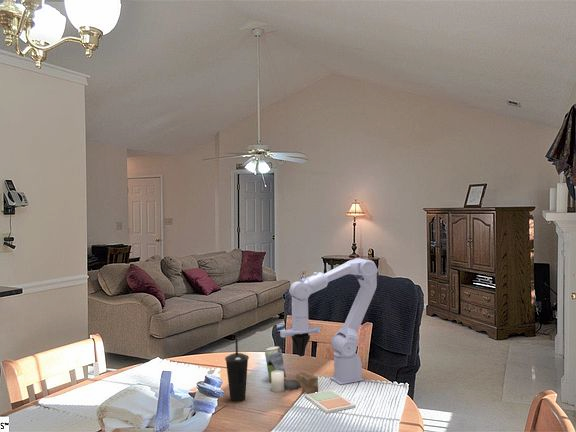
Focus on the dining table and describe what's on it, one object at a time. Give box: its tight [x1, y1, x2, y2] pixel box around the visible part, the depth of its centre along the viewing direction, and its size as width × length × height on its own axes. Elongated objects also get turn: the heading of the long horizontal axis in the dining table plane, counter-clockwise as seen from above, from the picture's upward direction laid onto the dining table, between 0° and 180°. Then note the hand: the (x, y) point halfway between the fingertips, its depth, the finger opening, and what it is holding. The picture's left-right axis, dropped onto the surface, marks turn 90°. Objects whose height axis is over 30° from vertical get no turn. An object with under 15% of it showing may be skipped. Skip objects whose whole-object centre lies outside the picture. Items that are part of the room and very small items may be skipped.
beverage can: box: [264, 346, 287, 381], centre depth 181 cm, size 6×7×12 cm
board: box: [304, 389, 356, 414], centre depth 160 cm, size 10×15×1 cm, turn 24°
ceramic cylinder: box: [270, 370, 285, 393], centre depth 172 cm, size 4×4×6 cm
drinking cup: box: [224, 337, 250, 403], centre depth 164 cm, size 8×8×20 cm
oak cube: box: [295, 371, 312, 389], centre depth 176 cm, size 4×4×4 cm
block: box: [301, 373, 319, 395], centre depth 170 cm, size 4×4×5 cm
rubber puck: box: [284, 379, 300, 391], centre depth 174 cm, size 5×5×2 cm
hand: (300, 355), depth 176 cm, fingers closed
